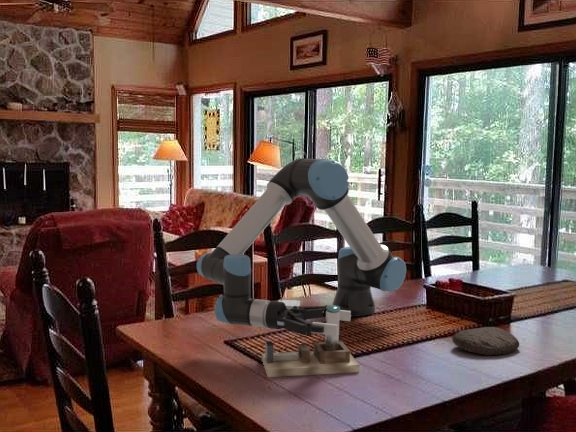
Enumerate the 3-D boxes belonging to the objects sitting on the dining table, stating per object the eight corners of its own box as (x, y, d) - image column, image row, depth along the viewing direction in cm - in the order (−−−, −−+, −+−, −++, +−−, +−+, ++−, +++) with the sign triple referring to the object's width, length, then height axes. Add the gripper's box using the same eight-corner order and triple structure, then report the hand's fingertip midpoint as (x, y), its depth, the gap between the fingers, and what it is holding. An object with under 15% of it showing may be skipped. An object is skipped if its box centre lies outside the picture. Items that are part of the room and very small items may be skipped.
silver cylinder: (335, 354, 164) (337, 304, 162) (339, 359, 161) (341, 308, 159) (323, 355, 164) (324, 305, 162) (326, 360, 160) (328, 309, 158)
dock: (346, 356, 170) (347, 337, 169) (359, 372, 158) (359, 352, 157) (261, 360, 165) (261, 341, 165) (267, 377, 154) (268, 356, 153)
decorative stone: (481, 362, 166) (482, 344, 166) (443, 347, 179) (444, 330, 178) (528, 350, 176) (529, 334, 176) (489, 337, 188) (490, 321, 188)
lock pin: (297, 356, 163) (297, 339, 162) (299, 361, 159) (299, 344, 158) (265, 358, 161) (265, 341, 161) (267, 362, 158) (267, 345, 157)
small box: (298, 321, 203) (298, 306, 203) (275, 320, 204) (275, 305, 204) (300, 314, 211) (300, 300, 210) (278, 313, 212) (278, 299, 211)
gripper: (284, 315, 179) (354, 323, 172) (251, 341, 156) (330, 351, 149) (285, 290, 178) (355, 298, 171) (251, 312, 155) (331, 321, 148)
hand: (344, 322), depth 160 cm, fingers open, 13 cm apart
